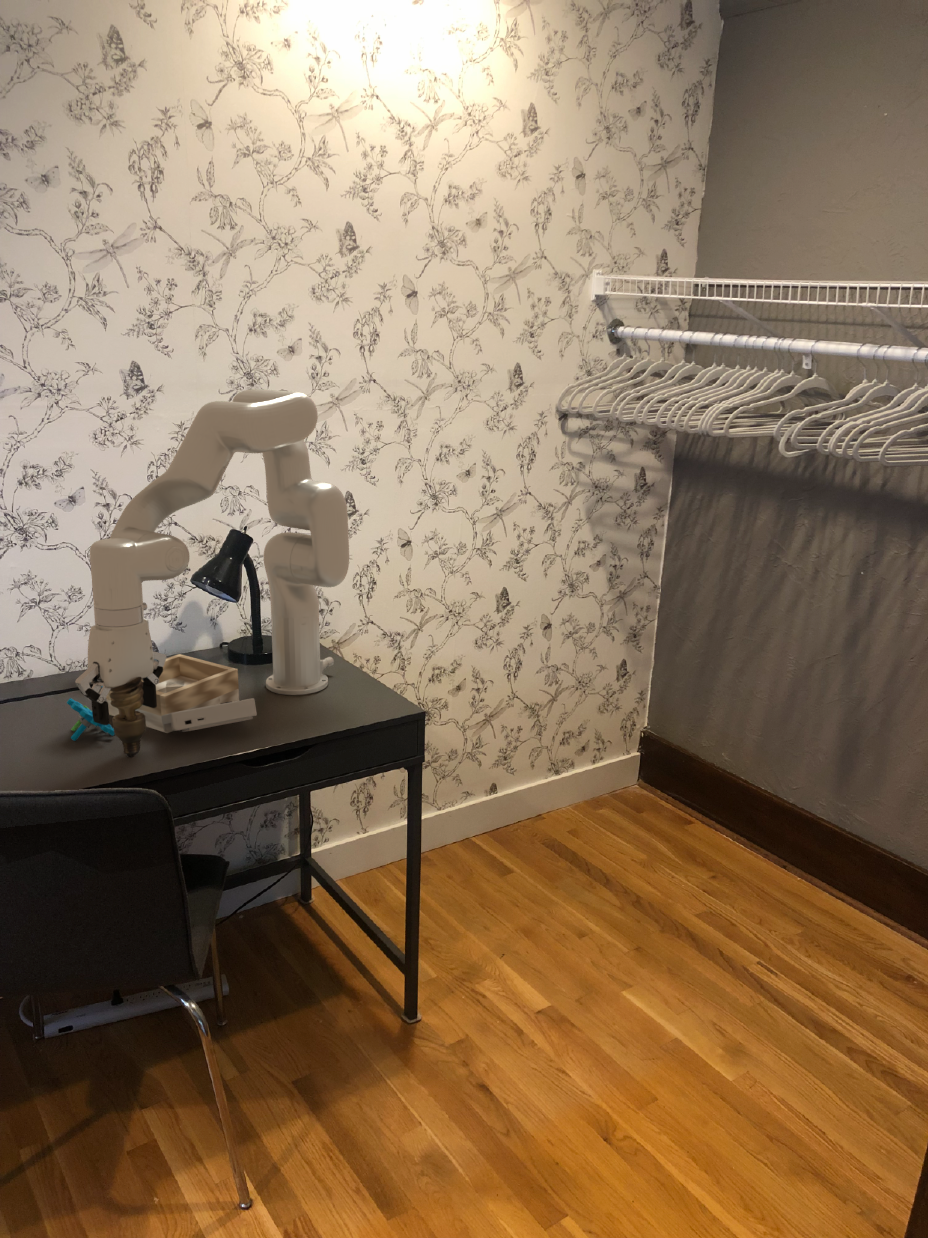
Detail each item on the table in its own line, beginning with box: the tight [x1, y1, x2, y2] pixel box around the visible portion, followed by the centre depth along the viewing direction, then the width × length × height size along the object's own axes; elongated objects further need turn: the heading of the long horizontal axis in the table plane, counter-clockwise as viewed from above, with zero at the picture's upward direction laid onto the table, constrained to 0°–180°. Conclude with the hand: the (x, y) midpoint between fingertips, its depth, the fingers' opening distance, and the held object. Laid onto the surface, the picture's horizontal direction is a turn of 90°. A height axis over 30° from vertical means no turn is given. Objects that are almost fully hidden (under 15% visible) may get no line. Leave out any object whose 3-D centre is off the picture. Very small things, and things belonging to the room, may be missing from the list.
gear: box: [66, 697, 115, 742], centre depth 168 cm, size 11×6×10 cm
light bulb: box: [110, 677, 147, 758], centre depth 160 cm, size 6×6×15 cm
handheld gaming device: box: [161, 697, 258, 733], centre depth 170 cm, size 9×15×4 cm, turn 119°
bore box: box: [105, 653, 240, 734], centre depth 182 cm, size 18×16×7 cm
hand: (125, 714), depth 159 cm, fingers open, 9 cm apart
